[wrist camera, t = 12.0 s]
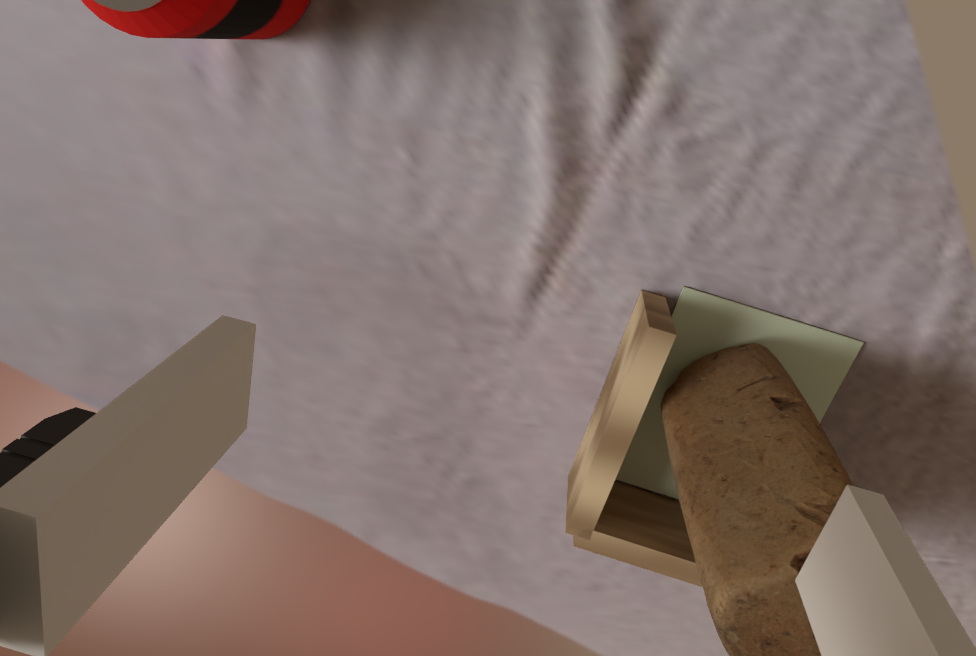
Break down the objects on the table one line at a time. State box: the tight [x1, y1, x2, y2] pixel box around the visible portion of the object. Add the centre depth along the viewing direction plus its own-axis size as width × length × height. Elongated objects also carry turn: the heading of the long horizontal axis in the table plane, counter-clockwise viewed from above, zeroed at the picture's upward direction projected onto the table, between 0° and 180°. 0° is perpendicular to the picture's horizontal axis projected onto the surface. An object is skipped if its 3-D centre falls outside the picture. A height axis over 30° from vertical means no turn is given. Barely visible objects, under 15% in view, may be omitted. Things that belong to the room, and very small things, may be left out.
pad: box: [616, 286, 864, 499], centre depth 44 cm, size 14×11×1 cm
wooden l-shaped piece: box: [565, 290, 703, 587], centre depth 42 cm, size 15×16×6 cm
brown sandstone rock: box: [660, 343, 853, 656], centre depth 35 cm, size 11×8×20 cm
